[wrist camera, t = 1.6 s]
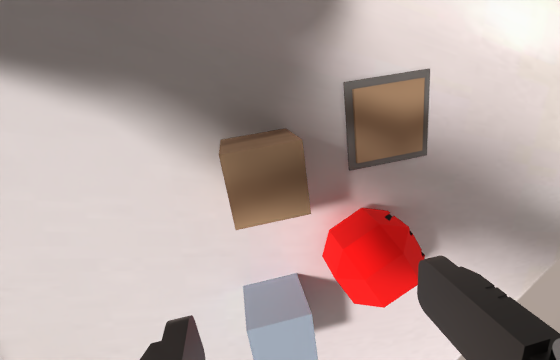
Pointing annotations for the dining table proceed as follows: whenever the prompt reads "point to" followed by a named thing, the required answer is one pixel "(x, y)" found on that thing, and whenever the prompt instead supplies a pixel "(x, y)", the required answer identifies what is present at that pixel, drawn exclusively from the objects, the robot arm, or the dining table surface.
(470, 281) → the robot arm
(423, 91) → the walnut swatch
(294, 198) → the walnut cube
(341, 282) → the ball
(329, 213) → the dining table surface
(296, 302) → the slate cube
